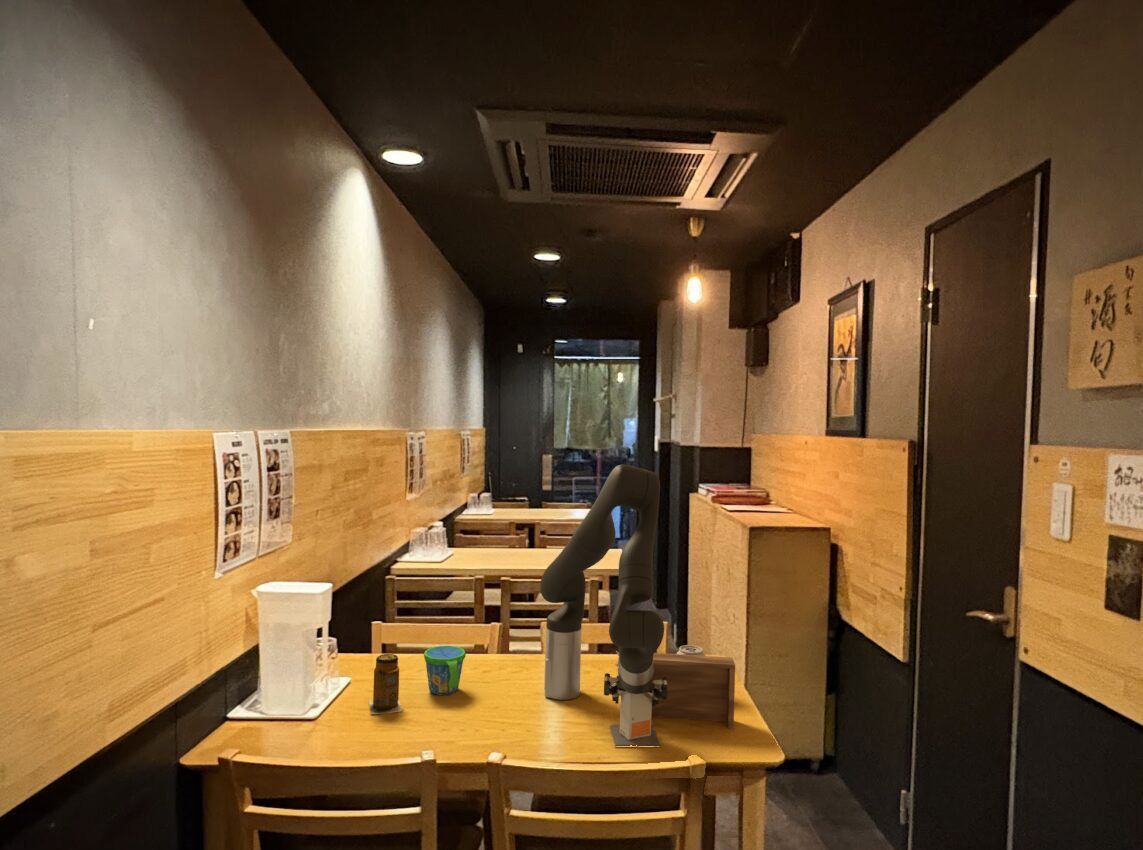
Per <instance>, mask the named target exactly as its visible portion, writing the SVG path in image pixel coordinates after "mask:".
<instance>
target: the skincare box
mask: <svg viewBox="0 0 1143 850" xmlns="http://www.w3.org/2000/svg"><path fill="white" fill-rule="evenodd" d="M619 708H620V710H619V711H620V713H619V725H620V733H621V734H622V735H623V736H624V737H626V738H627V739H628V740H631V739H636V738H641V737H646V736H650V735H651V724H652V716H651V714H652V698H647V697H646V696H644V695H643V694H632V693H628V694H626V695H624V696H620V707H619Z"/></svg>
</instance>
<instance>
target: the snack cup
mask: <svg viewBox="0 0 1143 850" xmlns="http://www.w3.org/2000/svg"><path fill="white" fill-rule="evenodd" d="M423 657H424V661H425V667H426V676H427V677H426V678H427V682H428V690H429V692H430V693H432V694H434V695H439V696H449V695H451V694H454V693H456V691H458V690H459V685H460V681H461V675H462V669H463V662H464V660H465V659H466V651H465V649H464V648H461V647H460V646H455V645H438V646H433V647H430V648H428V649H426V650H425V651H424V652H423Z"/></svg>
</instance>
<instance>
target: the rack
mask: <svg viewBox="0 0 1143 850" xmlns="http://www.w3.org/2000/svg"><path fill="white" fill-rule="evenodd" d="M653 660H654V673H653V678H654V679H655V680H662V677H667V699H666V700H664V699H662V698H659V701H658V704H655V706H652V714H651V717H656V716H661V717H660V718H670V717H677V718H676V719H684V718H687V719H688V718H689V719H688V720H698V719H700V721H714V722H715V721H716V722H726V725H727V728H728V729H729V728H730V729H731V730H733V729H734V727H735V693H736V692H735V689H736V687H735V685H736V683H735V682H736V663H735V661H734V658H733V657H729V656H728V657H726V656H714V655H713V656H712V655H711V656H710V655H705V656H697V655H680V654H677V653H662V652H659V653H658V652H655V653H654V654H653ZM656 687H657V686H656ZM659 689H660V688H659ZM687 719H686V720H687Z"/></svg>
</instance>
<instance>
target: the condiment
mask: <svg viewBox="0 0 1143 850" xmlns="http://www.w3.org/2000/svg"><path fill="white" fill-rule="evenodd" d="M399 688H400V666H399V657H398V655H396V654H394V653H383V654H380V655H378V656H377V657H376V659H375V668H374V670H373V691H372V693H373V695H372V696H373V697H372V700H368V702H369V704H368V705H369V710H370V715H384V714H391V713H400V712H403V709H402V704H401V701H400V697H399V694H400V693H399V690H400V689H399Z"/></svg>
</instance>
